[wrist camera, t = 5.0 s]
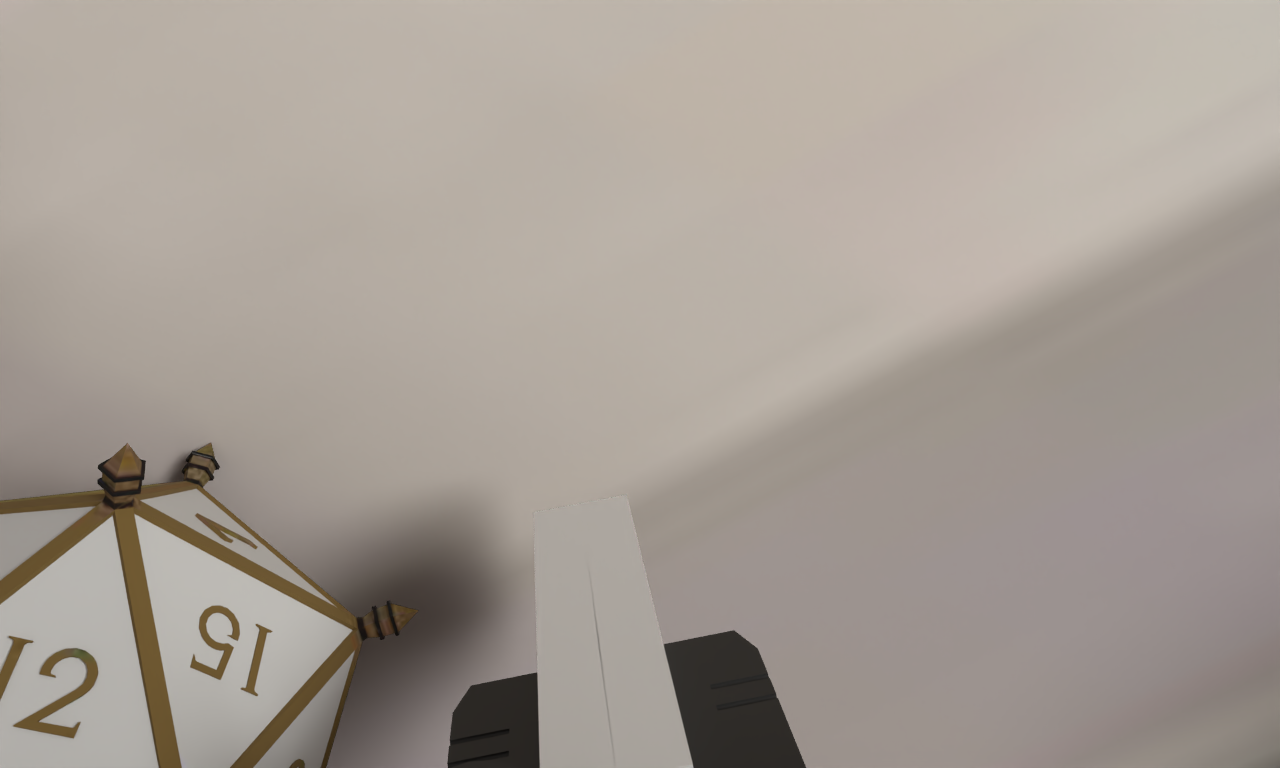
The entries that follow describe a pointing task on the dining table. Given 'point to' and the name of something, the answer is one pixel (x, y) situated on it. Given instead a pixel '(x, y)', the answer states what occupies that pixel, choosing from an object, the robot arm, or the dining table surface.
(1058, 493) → the dining table surface
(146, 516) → the game die
